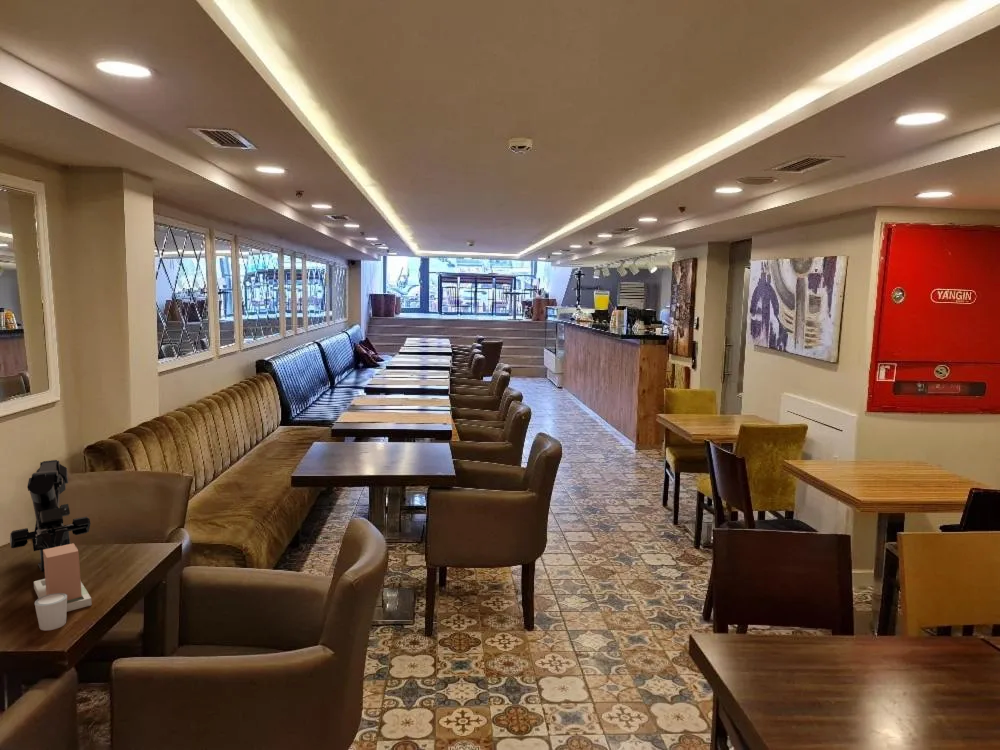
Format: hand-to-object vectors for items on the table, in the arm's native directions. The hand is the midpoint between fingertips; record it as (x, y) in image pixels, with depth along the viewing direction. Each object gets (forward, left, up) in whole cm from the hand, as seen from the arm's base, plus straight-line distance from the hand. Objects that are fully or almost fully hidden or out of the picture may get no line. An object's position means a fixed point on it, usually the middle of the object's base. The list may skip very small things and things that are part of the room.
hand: (56, 558), depth 182 cm
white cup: (+22, -5, -10) cm, 24 cm away
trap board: (+5, 0, -9) cm, 11 cm away
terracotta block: (+10, 0, -7) cm, 13 cm away
